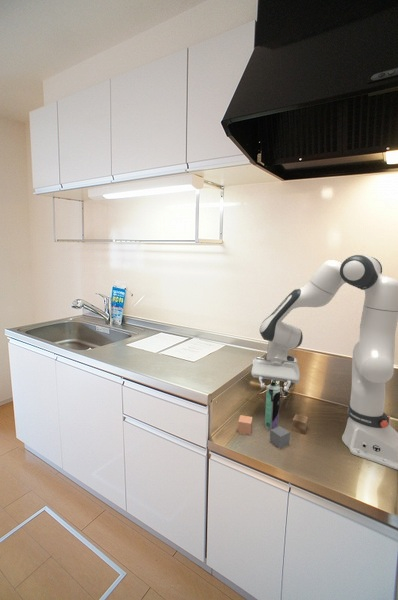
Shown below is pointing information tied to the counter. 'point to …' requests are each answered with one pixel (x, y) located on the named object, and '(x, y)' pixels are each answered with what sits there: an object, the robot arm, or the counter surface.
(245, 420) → the terracotta block
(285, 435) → the charcoal block
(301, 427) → the walnut block
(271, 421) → the spray can
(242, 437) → the counter surface
